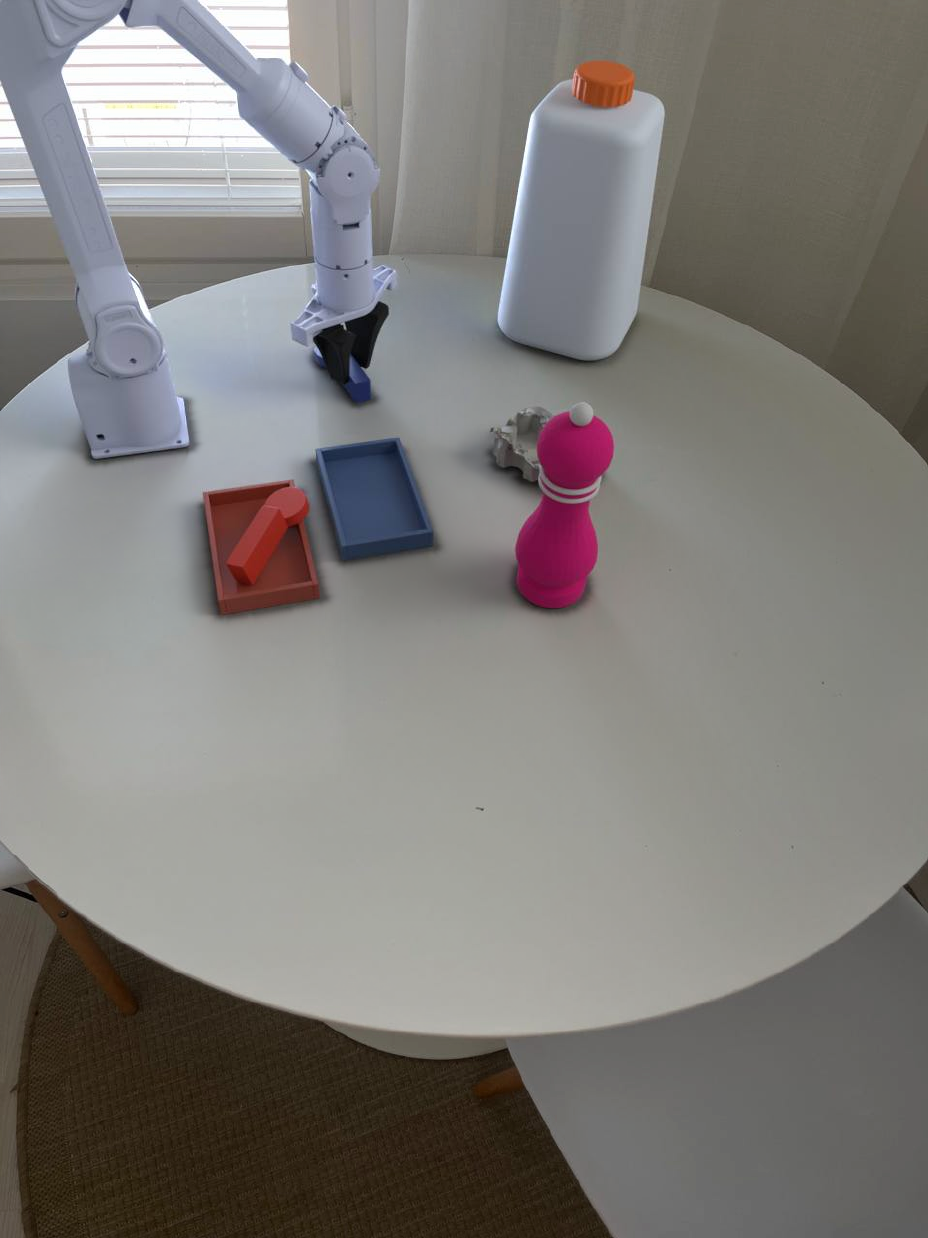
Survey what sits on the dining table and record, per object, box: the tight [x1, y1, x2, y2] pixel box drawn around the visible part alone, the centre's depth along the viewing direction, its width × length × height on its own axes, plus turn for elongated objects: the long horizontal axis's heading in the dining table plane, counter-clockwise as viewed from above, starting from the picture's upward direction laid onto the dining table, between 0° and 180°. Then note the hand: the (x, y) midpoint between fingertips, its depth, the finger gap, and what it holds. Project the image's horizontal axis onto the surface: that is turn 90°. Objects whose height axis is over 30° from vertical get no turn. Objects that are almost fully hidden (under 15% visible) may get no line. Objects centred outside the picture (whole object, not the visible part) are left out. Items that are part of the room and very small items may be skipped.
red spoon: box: [226, 486, 311, 585], centre depth 82 cm, size 11×4×3 cm, turn 159°
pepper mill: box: [514, 401, 615, 609], centre depth 75 cm, size 7×7×20 cm
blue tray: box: [315, 436, 434, 562], centre depth 88 cm, size 9×14×2 cm, turn 16°
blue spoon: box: [313, 345, 372, 404], centre depth 101 cm, size 11×4×3 cm, turn 28°
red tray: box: [202, 478, 321, 616], centre depth 83 cm, size 9×14×2 cm, turn 16°
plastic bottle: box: [497, 60, 666, 362], centre depth 100 cm, size 15×15×28 cm
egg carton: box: [489, 406, 555, 483], centre depth 92 cm, size 11×8×4 cm
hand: (350, 371), depth 100 cm, fingers closed on blue spoon, 3 cm apart
